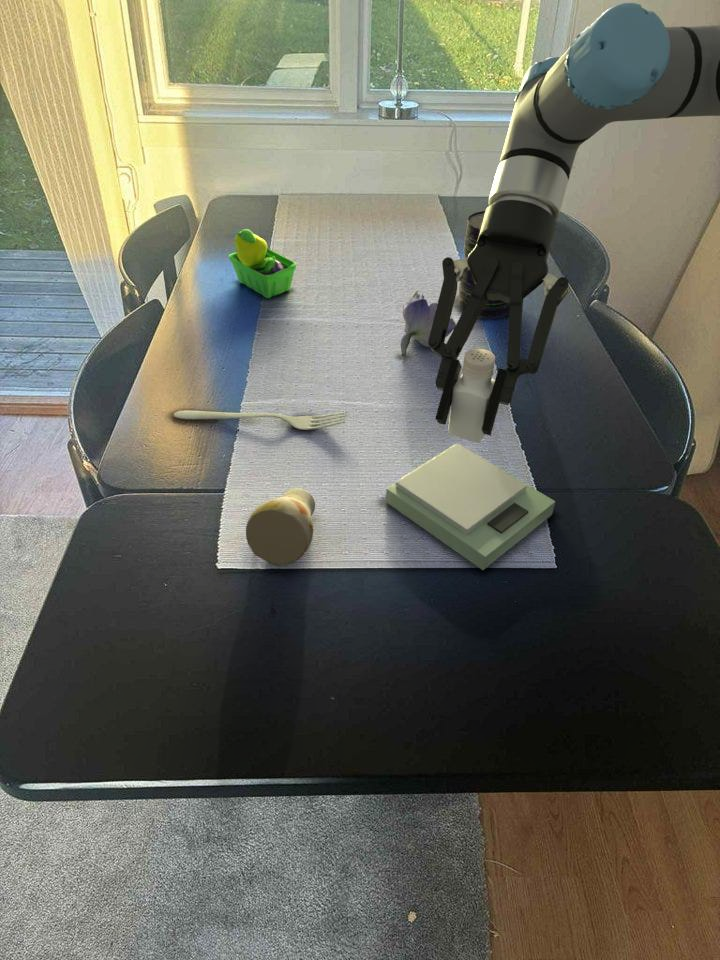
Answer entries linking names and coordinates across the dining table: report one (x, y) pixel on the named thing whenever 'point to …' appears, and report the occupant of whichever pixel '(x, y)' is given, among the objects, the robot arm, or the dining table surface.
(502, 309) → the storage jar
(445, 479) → the scale
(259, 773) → the dining table surface
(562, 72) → the robot arm
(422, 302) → the flower
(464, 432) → the pepper shaker
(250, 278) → the fruit basket
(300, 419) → the fork
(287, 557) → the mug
